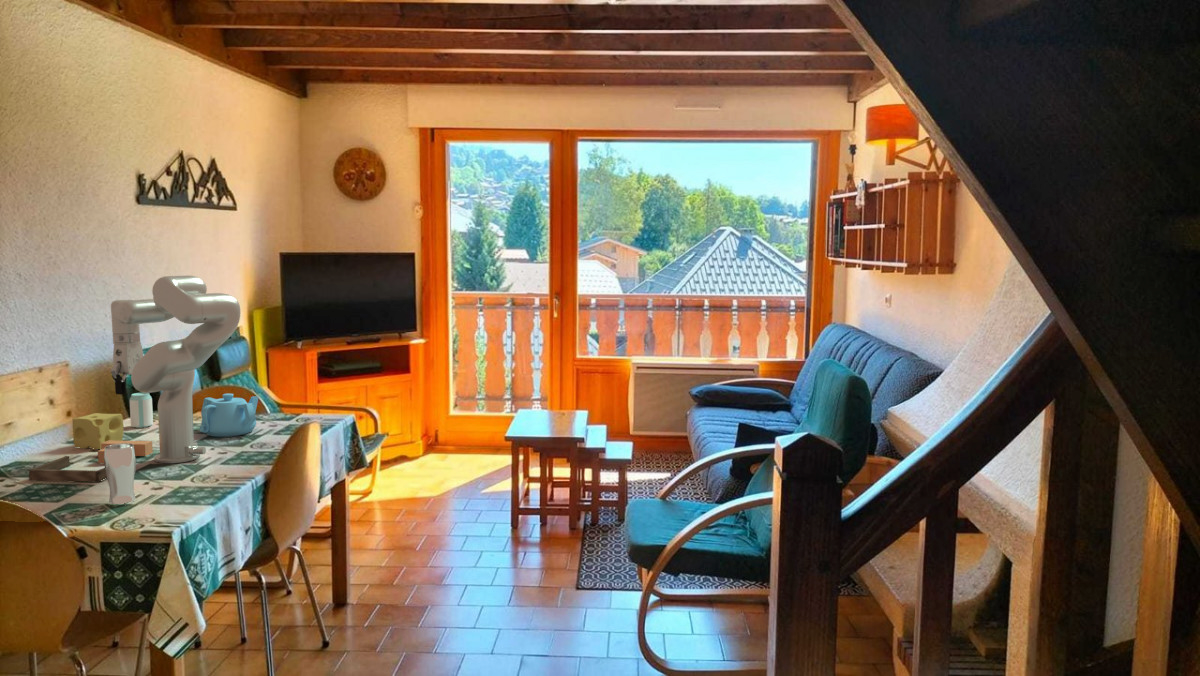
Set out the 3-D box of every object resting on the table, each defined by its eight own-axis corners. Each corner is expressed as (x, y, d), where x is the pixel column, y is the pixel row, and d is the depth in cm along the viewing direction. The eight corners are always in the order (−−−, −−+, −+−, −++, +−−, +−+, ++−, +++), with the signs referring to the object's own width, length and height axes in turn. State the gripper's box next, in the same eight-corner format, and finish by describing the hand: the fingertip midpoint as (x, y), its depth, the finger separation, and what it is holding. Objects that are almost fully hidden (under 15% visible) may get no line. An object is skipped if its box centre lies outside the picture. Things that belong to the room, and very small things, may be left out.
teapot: (253, 436, 286) (252, 397, 284) (193, 440, 280) (191, 399, 279) (259, 425, 304) (258, 388, 302) (202, 428, 298) (201, 390, 297)
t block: (152, 453, 262) (152, 441, 261) (128, 464, 249) (127, 451, 248) (109, 452, 262) (108, 440, 261) (82, 463, 249) (82, 450, 249)
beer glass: (143, 498, 216) (140, 442, 215) (128, 507, 210) (125, 449, 208) (116, 498, 216) (113, 442, 214) (100, 507, 209) (97, 449, 208)
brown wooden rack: (132, 467, 246) (131, 457, 245) (99, 482, 230) (98, 471, 230) (66, 465, 246) (65, 455, 246) (29, 480, 231) (28, 470, 230)
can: (131, 425, 300) (130, 392, 299) (153, 423, 303) (152, 391, 302) (130, 429, 294) (128, 396, 292) (152, 427, 297) (150, 394, 295)
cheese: (100, 450, 264) (98, 420, 263) (71, 448, 267) (69, 418, 265) (124, 443, 275) (123, 413, 273) (97, 440, 277) (95, 411, 276)
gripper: (122, 341, 254) (126, 396, 255) (152, 335, 271) (156, 387, 273) (98, 341, 254) (102, 396, 255) (130, 335, 271) (133, 387, 273)
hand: (129, 391), depth 264 cm, fingers open, 9 cm apart
